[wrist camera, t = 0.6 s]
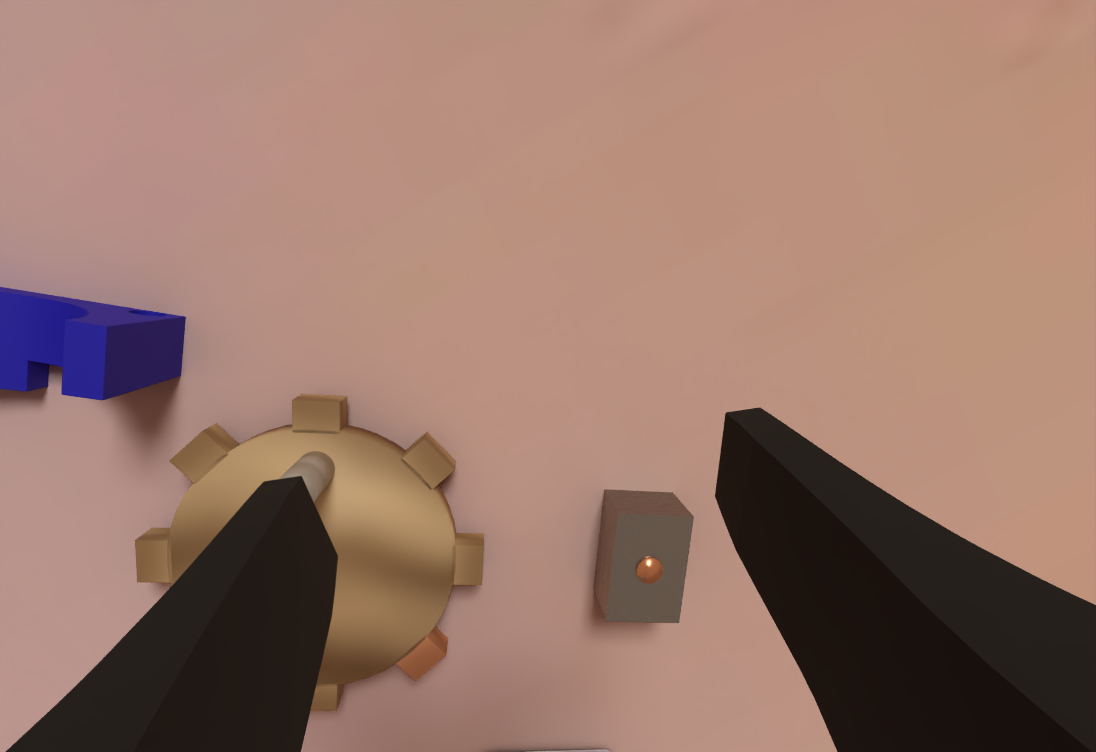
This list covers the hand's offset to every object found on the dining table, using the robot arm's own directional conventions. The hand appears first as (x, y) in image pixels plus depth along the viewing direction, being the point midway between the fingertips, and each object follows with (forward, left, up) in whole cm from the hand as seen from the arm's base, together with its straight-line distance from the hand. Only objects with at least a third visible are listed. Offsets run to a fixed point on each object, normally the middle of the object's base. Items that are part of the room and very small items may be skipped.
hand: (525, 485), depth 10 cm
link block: (-11, -8, -20) cm, 24 cm away
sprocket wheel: (-11, +9, -20) cm, 25 cm away
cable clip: (-1, +22, -21) cm, 30 cm away
